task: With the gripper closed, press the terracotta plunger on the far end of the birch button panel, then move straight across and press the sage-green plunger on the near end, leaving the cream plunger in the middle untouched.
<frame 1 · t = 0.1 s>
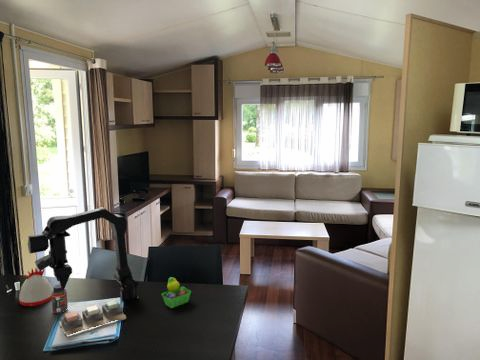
hand: (60, 284, 156), 15 cm above the table, fingers open, 9 cm apart
button terracotta: (71, 317, 149), point 4 cm above the table, slide at 0.0 cm
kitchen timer: (36, 299, 175), on the table
button sage: (112, 305, 159), point 4 cm above the table, slide at 0.0 cm
supplement bottle: (60, 311, 164), on the table
button cream: (92, 311, 154), point 4 cm above the table, slide at 0.0 cm
fruit basket: (176, 303, 171), on the table
button panel: (93, 321, 155), on the table
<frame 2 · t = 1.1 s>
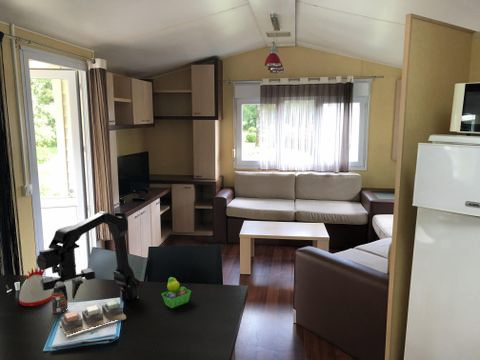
hand: (70, 299, 148), 12 cm above the table, fingers closed
nothing on the table moved.
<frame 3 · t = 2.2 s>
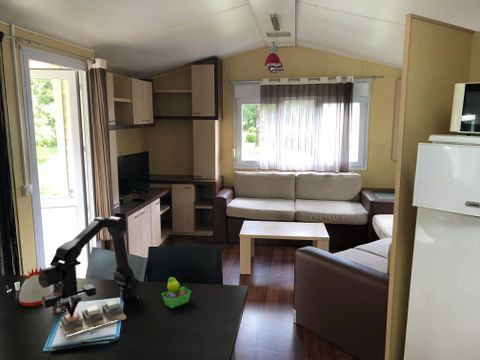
hand: (71, 315, 149), 5 cm above the table, fingers closed, pressing on button terracotta
button terracotta: (71, 319, 149), point 4 cm above the table, slide at 0.6 cm, touching gripper
everything else where it was.
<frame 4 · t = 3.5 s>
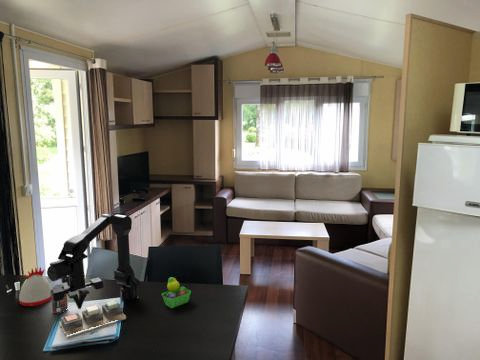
hand: (79, 308, 151), 7 cm above the table, fingers closed
button terracotta: (71, 320, 150), point 3 cm above the table, slide at 1.3 cm
everything else where it was.
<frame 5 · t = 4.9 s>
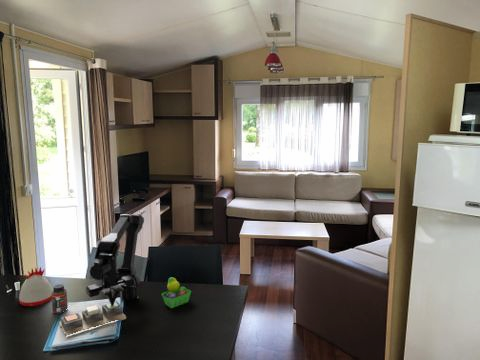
hand: (112, 305, 159), 5 cm above the table, fingers closed, pressing on button sage
button sage: (112, 308, 159), point 3 cm above the table, slide at 1.1 cm, touching gripper
everything else where it was.
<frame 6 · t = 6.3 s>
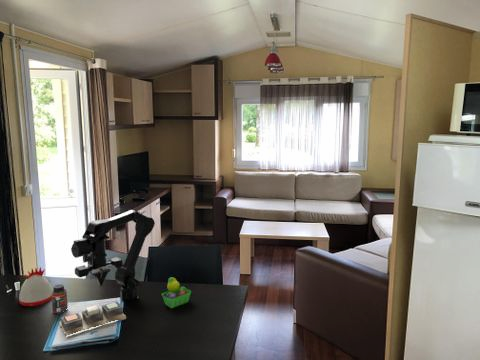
hand: (100, 285, 162), 11 cm above the table, fingers closed
button sage: (112, 308, 159), point 3 cm above the table, slide at 1.3 cm
everything else where it was.
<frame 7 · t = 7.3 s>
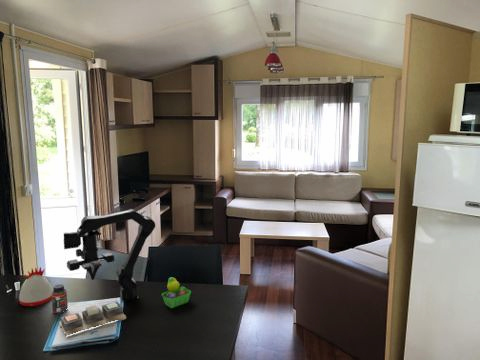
hand: (92, 279, 167), 12 cm above the table, fingers closed
nothing on the table moved.
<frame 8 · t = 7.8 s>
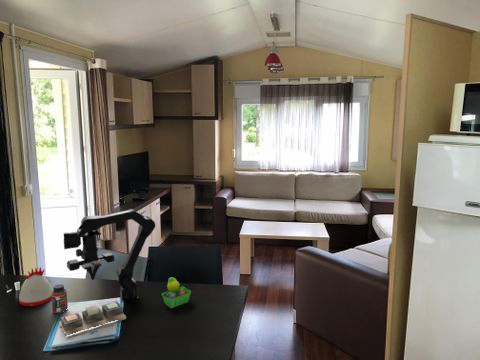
hand: (92, 279, 167), 12 cm above the table, fingers closed
nothing on the table moved.
at the end: button terracotta slide at 1.3 cm; button sage slide at 1.3 cm; button cream slide at 0.0 cm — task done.
